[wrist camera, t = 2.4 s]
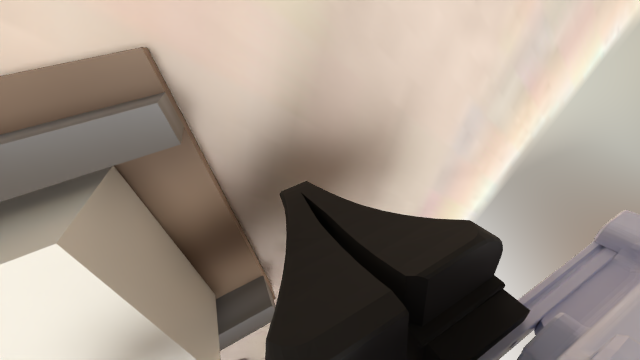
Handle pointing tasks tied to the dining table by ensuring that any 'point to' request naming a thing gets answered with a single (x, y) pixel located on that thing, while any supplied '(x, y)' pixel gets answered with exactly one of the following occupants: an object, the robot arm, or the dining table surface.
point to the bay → (133, 166)
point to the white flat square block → (98, 279)
